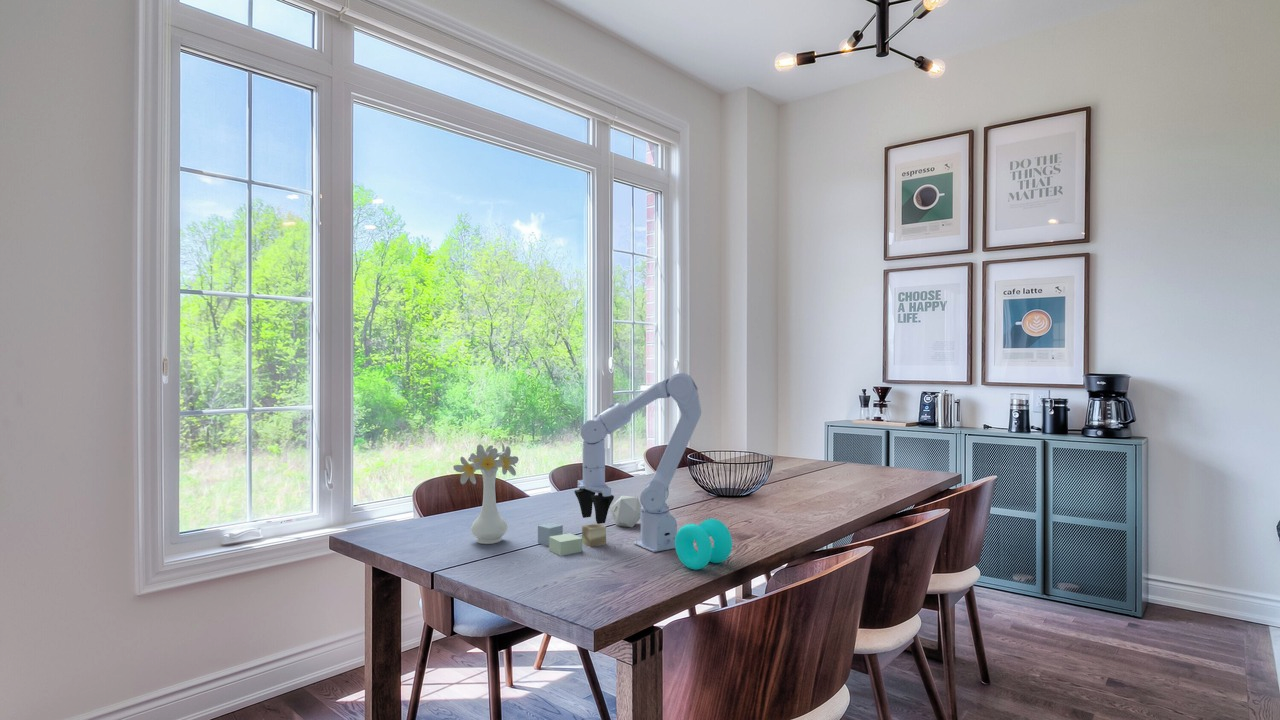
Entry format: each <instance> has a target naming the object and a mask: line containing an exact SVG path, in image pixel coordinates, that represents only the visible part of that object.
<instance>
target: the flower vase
mask: <svg viewBox="0 0 1280 720" xmlns="http://www.w3.org/2000/svg"><path fill="white" fill-rule="evenodd" d="M501 448H502V450H501V451H502V452H498V449H497V448H496V447H495V448H494V446H493V444H492V445H489V446H487V447H486V448H484V446H483V445H482V444H478V445H477V446H476V452H475V453H474V452H471V453H470V456H469V457H468V459H466V458H465V457H464V456H460V458H459V459H460V460H459V461H460V463H461V464H455V465H453V466H452V467H453V470H454V471H456V472H457V473H462V474H461V475H460V478H459V479H460V480H459V482H460V484H462V485H465V484H466V483H467V481H468V480H469V481H470V482H471V484H473V485H476V484H477V479H476V476H475V472H476V471H480V473H481V475H482V476H481V477H482V481H483V483H482V484H483V485H482V486H483V492H482V494H483V495H482V506H481V509H480V513H479V515H478V516H477V517H476V518H475V519H474V521H473V522H472V524H471V528H470V531H471V534H472V535H473V537H475V538H476V541H477V543H478V544H482V545H492V544H498V543H500V542H501V541H502V540H503V539H502V537H503V536H504V535H506V533H507V532H508V527H509V526H508V523H507V521H506V520H505V518H504V517H503V516H502V515H501V514H500V512H499V510H498V508H497V499H496V478H497V472H498V470H499V468H501V472H502V474H503V476H505V475H507V473H508V472H509V473H510V475H512V476H514V477H515V476H516V475H517V472H516V469H515V468H517V465H516V464H517V463H518V462H519V457H518V456H517V455H516V456H515V455H514V456H511V451H512V450H511V447H510V446H509V445H506V446H505V445H504V442H501ZM469 462H470V463H469Z"/></svg>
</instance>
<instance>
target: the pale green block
mask: <svg viewBox="0 0 1280 720" xmlns="http://www.w3.org/2000/svg"><path fill="white" fill-rule="evenodd" d="M548 550H549V551H550V552H552V553H555V554H556V555H559V556H560V557H561V556H567V555H571V554H578V553H582V552H583V543H582V536H578V535H576V534H573V533H571V532H569V533H563V534H562V535H556V536H550V537H549V546H548Z"/></svg>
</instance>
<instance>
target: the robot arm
mask: <svg viewBox="0 0 1280 720" xmlns="http://www.w3.org/2000/svg"><path fill="white" fill-rule="evenodd" d="M698 388H699V387H698V386H697V384H696V382H695V381H694V379H693V378H692V376H691V375H689V374H687V373H685V372H679V373H675V374H673V375H671V377H669V378H665V379H663V380H661V381H658V382H656V383H654V384H653V385H651V386H649V387H648V388H647V389H645V390H644V391H642V392H640V393H639V394H638V395H636V396H635V397H634V398H632V399H630V400H629V401H628V402H626V403H624V402H623V403H622V402H616V403H615V402H612V403H610V404H609V405H608V407H609V408H607V409H606V410H604V411H602V412H601V413H600V414H598V413H596V414H594V415H593V418H594V419H590V420H587V421H586V422H585V423H584V424H583V425H582V426H581V428H580V436H581V438H582V479H577V488H578V489H575V490H574V494H575V496H576V498H577V501H578V503H579V506H580V512H581V515H582V518H583V519H584V518H585V519H586V518H591V517H592V513H593V507H594V513H595V514H594V515H595V522H596V524H600V525H602V524H605V523H606V521H607V516H608V513H609V510H610V507H611V505H612V502H613V501H614V499H615V496H614V495H613V494H612V488H611V487H609V486H608V485H607V484H606V449H605V448H606V447H605V439H606V437H607V435H611V434H613V433H614V432H616V431H618V430H619V429H621V428H623V426H625V425H627V424H628V423H630V422H631V420H632V415H633V414H634V413H636V412H637V411H639V410H641V409H642V408H644V407H646V406H648V405H650V404H651V403H652V402H654V401H655V400H657V399H668V398H670V397H671V398H672V400H674V401H675V402H676V405H677V407H678V409H679V412H680V417H679V420H678V422H677V424H676V426H675V428H674V430H673V433H672V434H671V437H670V439H669V441H668V444H667V446H666V449H665V450H664V453H663V455H662V457H661V459H660V462H659V464H658V466H657V468H656V470H655V472H654V474H653V477H652V478H651V481H649V482H648V483H647V484H646V485H645V487H644V489H643V490H642V491H641V494H640V497H639V502H640V505H641V519H640V540H636V541H633V544H634V545H636V546H638V547H641V548H643V549H645V550H648V551H651V552H652V553H656V552H661V551H666V550H673V549H676V548H675V539H676V535H677V533H678V522H677V519H676V518H675V517H674V516H673V515H672V514H671V512H670V506H669V505H668V504H667V503H666V502H667V499H668V498H669V487H670V485H671V482H672V481H673V477H674V475H675V473H676V471H677V468H678V467H679V464H680V462H681V460H682V457H684V456H683V455H684V453H685V451H686V449H687V446H688V444H689V442H690V440H691V438H692V436H693V434H694V432H695V429H696V426H697V424H698V422H699V420H700V418H701V415H702V407H701V402H700V398H699V397H700V395H699V389H698Z"/></svg>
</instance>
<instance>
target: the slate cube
mask: <svg viewBox="0 0 1280 720" xmlns="http://www.w3.org/2000/svg"><path fill="white" fill-rule="evenodd" d="M563 530H564V524H563V525H562V524H560V523H555V522H548V523H543V524H538V525H537V543H538V544H541V545H544V546H547V547H549V537H550V536H556V535H562V534H564V531H563Z"/></svg>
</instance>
